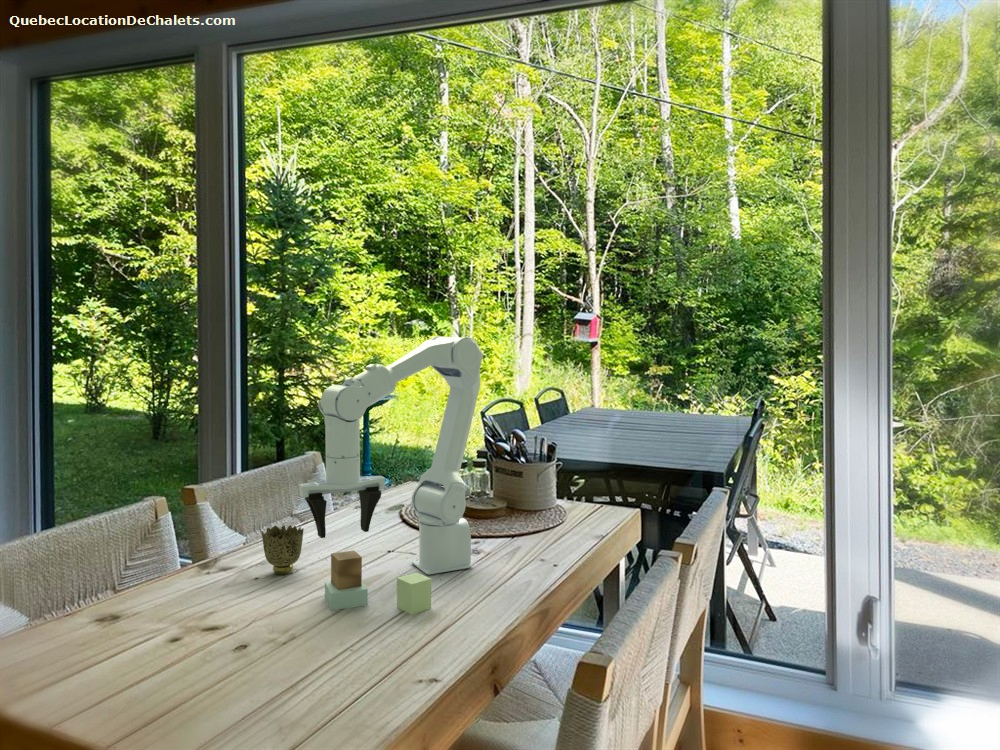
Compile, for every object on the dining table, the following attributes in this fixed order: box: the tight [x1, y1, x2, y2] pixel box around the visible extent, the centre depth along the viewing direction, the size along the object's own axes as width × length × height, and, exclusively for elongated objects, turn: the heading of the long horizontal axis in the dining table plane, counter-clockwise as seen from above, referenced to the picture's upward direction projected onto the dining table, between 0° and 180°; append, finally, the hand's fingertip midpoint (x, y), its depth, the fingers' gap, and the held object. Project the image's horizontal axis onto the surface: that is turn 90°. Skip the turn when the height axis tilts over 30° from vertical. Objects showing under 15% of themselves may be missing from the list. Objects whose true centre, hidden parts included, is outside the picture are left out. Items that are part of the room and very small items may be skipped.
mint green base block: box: [324, 580, 369, 611], centre depth 128 cm, size 6×6×3 cm
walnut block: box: [330, 550, 363, 590], centre depth 128 cm, size 4×4×5 cm
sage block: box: [396, 572, 432, 615], centre depth 125 cm, size 4×4×5 cm
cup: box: [261, 524, 304, 575], centre depth 141 cm, size 8×7×8 cm
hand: (343, 533), depth 131 cm, fingers open, 7 cm apart
